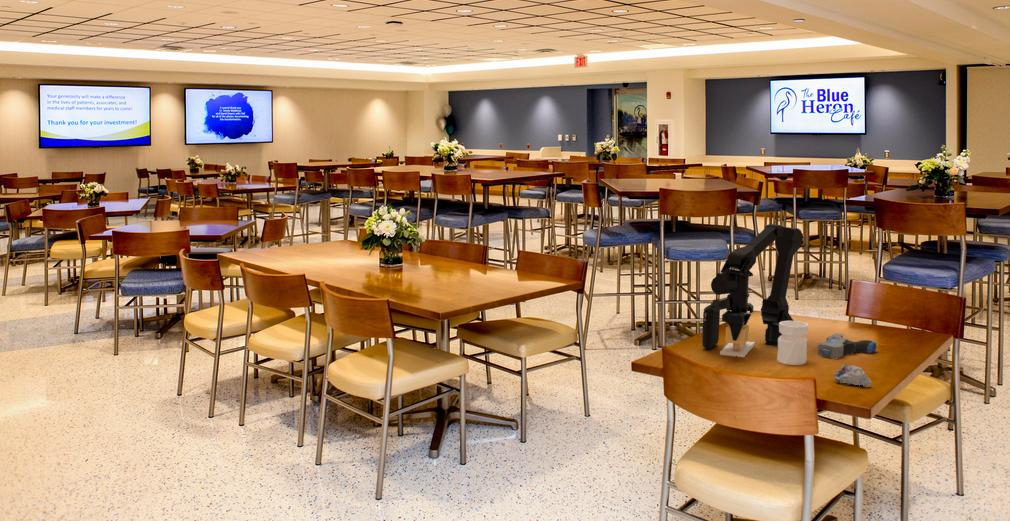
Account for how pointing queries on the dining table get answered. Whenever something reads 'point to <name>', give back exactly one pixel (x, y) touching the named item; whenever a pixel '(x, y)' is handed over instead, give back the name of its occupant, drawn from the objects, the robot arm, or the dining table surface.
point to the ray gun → (844, 346)
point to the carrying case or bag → (710, 327)
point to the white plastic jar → (792, 342)
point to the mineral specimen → (852, 376)
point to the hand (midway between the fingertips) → (737, 338)
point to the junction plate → (736, 353)
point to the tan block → (741, 338)
